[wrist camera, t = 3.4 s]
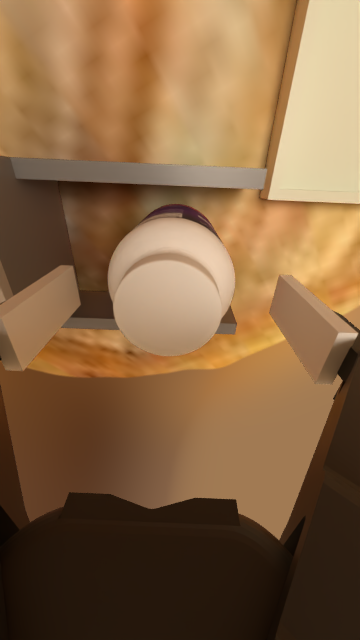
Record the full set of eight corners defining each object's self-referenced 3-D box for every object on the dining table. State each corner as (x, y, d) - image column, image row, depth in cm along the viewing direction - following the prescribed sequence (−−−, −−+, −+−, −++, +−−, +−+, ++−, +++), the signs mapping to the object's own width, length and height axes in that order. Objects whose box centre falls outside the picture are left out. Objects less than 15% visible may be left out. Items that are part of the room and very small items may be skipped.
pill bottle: (221, 271, 25) (258, 358, 13) (152, 290, 27) (126, 385, 14) (205, 190, 21) (236, 205, 9) (125, 216, 23) (55, 260, 10)
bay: (71, 299, 27) (14, 360, 18) (40, 162, 20) (-79, 148, 11) (225, 305, 27) (246, 369, 18) (246, 171, 21) (297, 164, 11)
